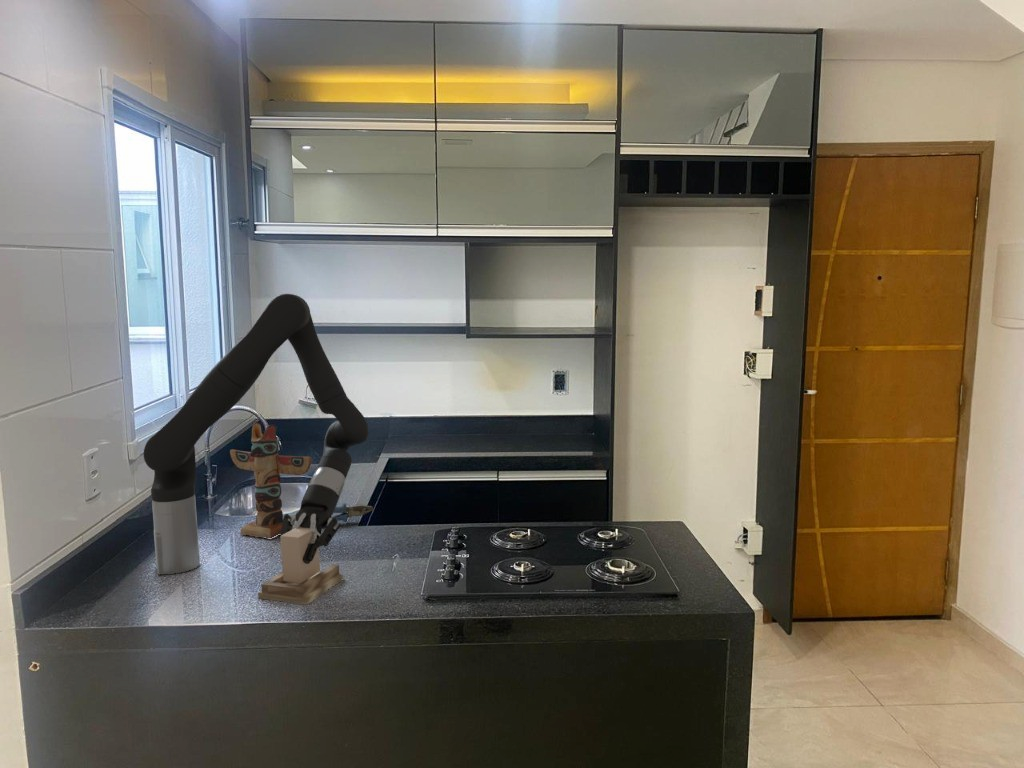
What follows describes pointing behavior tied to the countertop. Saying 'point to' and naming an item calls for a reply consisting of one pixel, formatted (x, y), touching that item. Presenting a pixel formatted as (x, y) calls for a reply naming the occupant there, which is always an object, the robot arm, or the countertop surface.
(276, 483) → the totem pole
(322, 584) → the wooden rimmed tray
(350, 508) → the pliers
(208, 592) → the countertop surface
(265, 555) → the countertop surface
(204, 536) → the countertop surface
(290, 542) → the clay block
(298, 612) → the countertop surface
